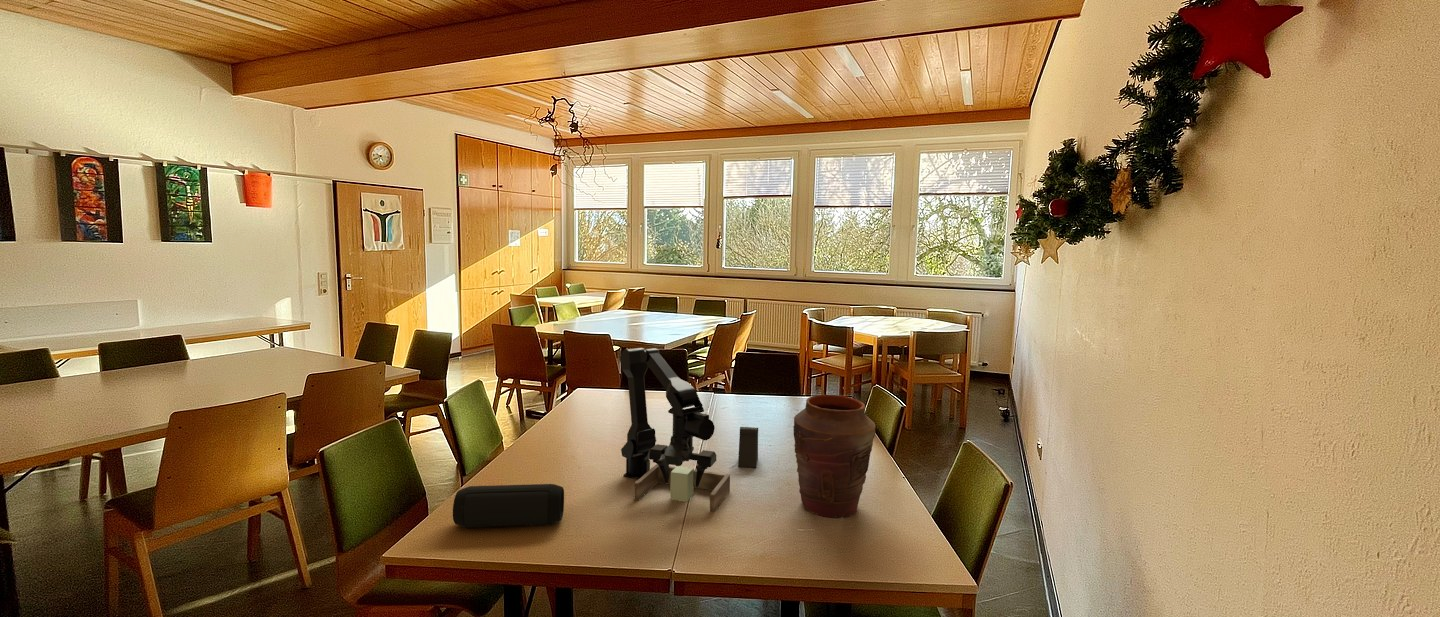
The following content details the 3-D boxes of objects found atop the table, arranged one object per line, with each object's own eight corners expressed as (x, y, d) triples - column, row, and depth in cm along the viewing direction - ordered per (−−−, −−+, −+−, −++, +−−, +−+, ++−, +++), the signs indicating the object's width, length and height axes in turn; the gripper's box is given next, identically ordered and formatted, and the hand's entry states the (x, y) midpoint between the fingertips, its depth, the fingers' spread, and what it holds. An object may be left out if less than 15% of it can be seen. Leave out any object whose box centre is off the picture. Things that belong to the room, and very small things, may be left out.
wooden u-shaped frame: (634, 500, 166) (634, 482, 166) (656, 480, 181) (656, 464, 180) (713, 512, 160) (714, 494, 159) (729, 491, 174) (730, 474, 174)
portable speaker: (564, 513, 157) (564, 477, 156) (559, 531, 148) (559, 493, 147) (464, 517, 154) (463, 480, 153) (451, 535, 144) (450, 496, 143)
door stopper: (756, 468, 193) (757, 432, 191) (737, 467, 193) (738, 431, 192) (758, 458, 201) (759, 424, 200) (740, 457, 202) (741, 423, 201)
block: (670, 499, 168) (670, 472, 167) (676, 492, 172) (677, 465, 171) (686, 502, 166) (687, 474, 165) (693, 495, 171) (693, 468, 170)
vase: (866, 532, 151) (871, 416, 147) (781, 516, 158) (785, 406, 155) (875, 497, 172) (880, 396, 169) (800, 485, 179) (803, 388, 176)
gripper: (640, 435, 162) (639, 490, 164) (705, 443, 157) (703, 500, 159) (656, 424, 173) (655, 476, 175) (717, 431, 167) (716, 485, 169)
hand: (681, 484), depth 169 cm, fingers open, 9 cm apart
